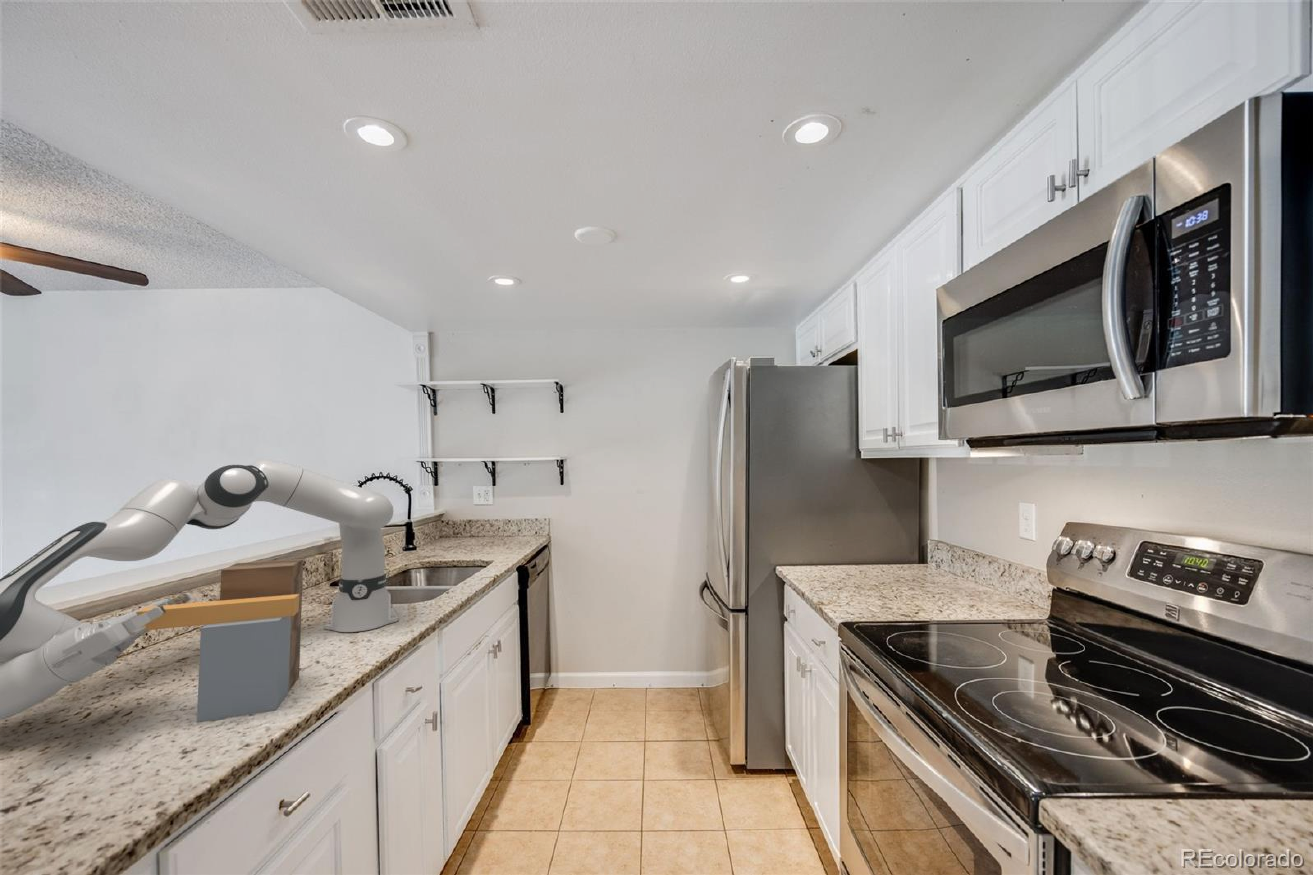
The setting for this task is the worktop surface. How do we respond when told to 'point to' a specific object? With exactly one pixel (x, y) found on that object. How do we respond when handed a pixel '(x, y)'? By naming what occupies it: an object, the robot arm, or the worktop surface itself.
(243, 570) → the walnut stand
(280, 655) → the slate block
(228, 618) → the orange block
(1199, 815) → the worktop surface
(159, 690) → the worktop surface
